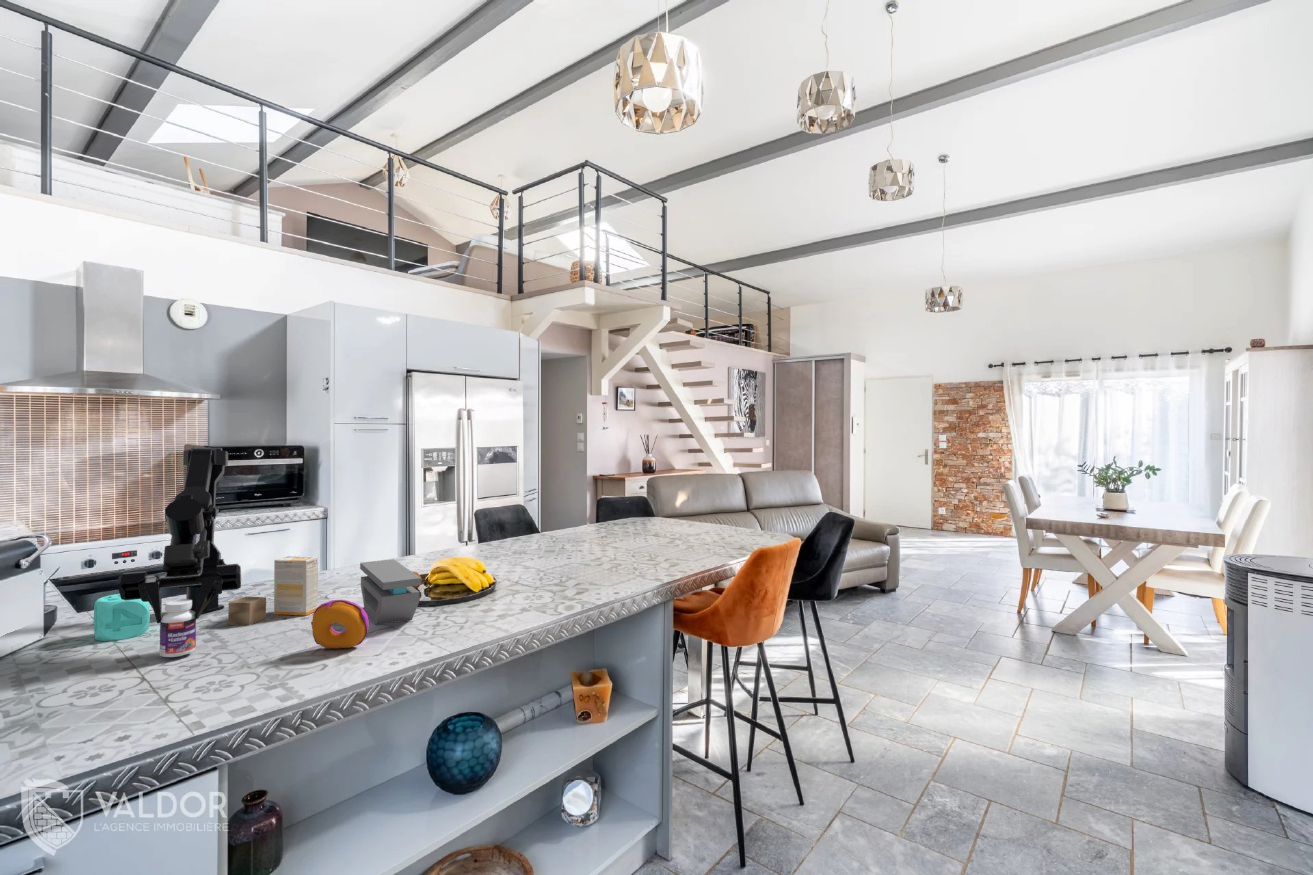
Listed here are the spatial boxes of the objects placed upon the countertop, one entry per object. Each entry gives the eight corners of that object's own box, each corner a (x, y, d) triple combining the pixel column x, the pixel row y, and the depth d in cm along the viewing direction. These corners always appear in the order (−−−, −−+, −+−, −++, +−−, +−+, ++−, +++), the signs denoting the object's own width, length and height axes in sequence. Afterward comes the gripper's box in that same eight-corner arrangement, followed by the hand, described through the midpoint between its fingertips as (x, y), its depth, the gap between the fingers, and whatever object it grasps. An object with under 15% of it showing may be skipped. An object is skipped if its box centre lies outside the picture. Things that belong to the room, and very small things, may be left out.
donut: (340, 640, 123) (341, 591, 123) (373, 646, 120) (374, 596, 120) (305, 652, 116) (305, 601, 116) (339, 659, 113) (340, 606, 113)
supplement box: (319, 610, 144) (320, 556, 144) (305, 616, 139) (306, 560, 139) (287, 609, 145) (288, 555, 145) (272, 614, 140) (273, 559, 140)
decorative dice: (149, 634, 125) (150, 596, 125) (97, 644, 119) (98, 604, 119) (143, 626, 130) (144, 590, 131) (93, 635, 125) (94, 596, 125)
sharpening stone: (420, 626, 133) (420, 578, 133) (382, 633, 128) (383, 582, 128) (393, 601, 153) (393, 559, 153) (359, 606, 148) (360, 562, 148)
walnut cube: (228, 624, 133) (228, 602, 133) (245, 618, 138) (245, 596, 138) (249, 625, 132) (249, 603, 132) (265, 618, 137) (266, 597, 137)
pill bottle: (166, 660, 110) (167, 607, 110) (154, 654, 112) (155, 602, 112) (201, 651, 114) (201, 600, 114) (188, 645, 117) (189, 596, 117)
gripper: (120, 530, 112) (103, 604, 102) (241, 524, 121) (236, 590, 112) (129, 564, 118) (114, 636, 109) (243, 555, 128) (238, 620, 119)
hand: (177, 619), depth 112 cm, fingers closed on pill bottle, 5 cm apart
